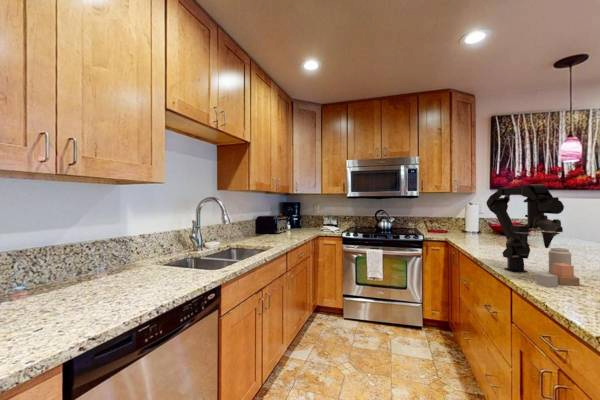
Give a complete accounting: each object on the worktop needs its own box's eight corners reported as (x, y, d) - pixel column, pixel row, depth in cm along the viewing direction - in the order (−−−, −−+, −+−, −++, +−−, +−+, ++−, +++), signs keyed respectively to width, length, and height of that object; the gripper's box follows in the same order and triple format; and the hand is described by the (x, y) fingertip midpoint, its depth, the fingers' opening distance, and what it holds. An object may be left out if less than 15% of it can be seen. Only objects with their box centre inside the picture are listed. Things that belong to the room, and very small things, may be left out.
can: (551, 275, 125) (551, 249, 125) (546, 271, 131) (546, 246, 131) (574, 277, 121) (574, 250, 121) (567, 273, 128) (567, 247, 128)
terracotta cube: (552, 274, 116) (552, 263, 116) (563, 273, 116) (563, 263, 116) (562, 277, 112) (562, 265, 112) (573, 276, 112) (573, 265, 112)
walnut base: (546, 281, 118) (546, 273, 118) (565, 281, 117) (564, 273, 117) (560, 286, 111) (559, 277, 111) (579, 286, 110) (579, 278, 110)
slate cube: (536, 284, 113) (536, 273, 113) (545, 283, 114) (545, 272, 114) (548, 288, 109) (548, 276, 109) (557, 287, 109) (557, 275, 109)
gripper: (529, 214, 114) (529, 251, 114) (575, 213, 114) (575, 251, 114) (509, 212, 125) (509, 247, 125) (550, 212, 125) (551, 246, 125)
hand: (536, 248), depth 122 cm, fingers open, 9 cm apart
